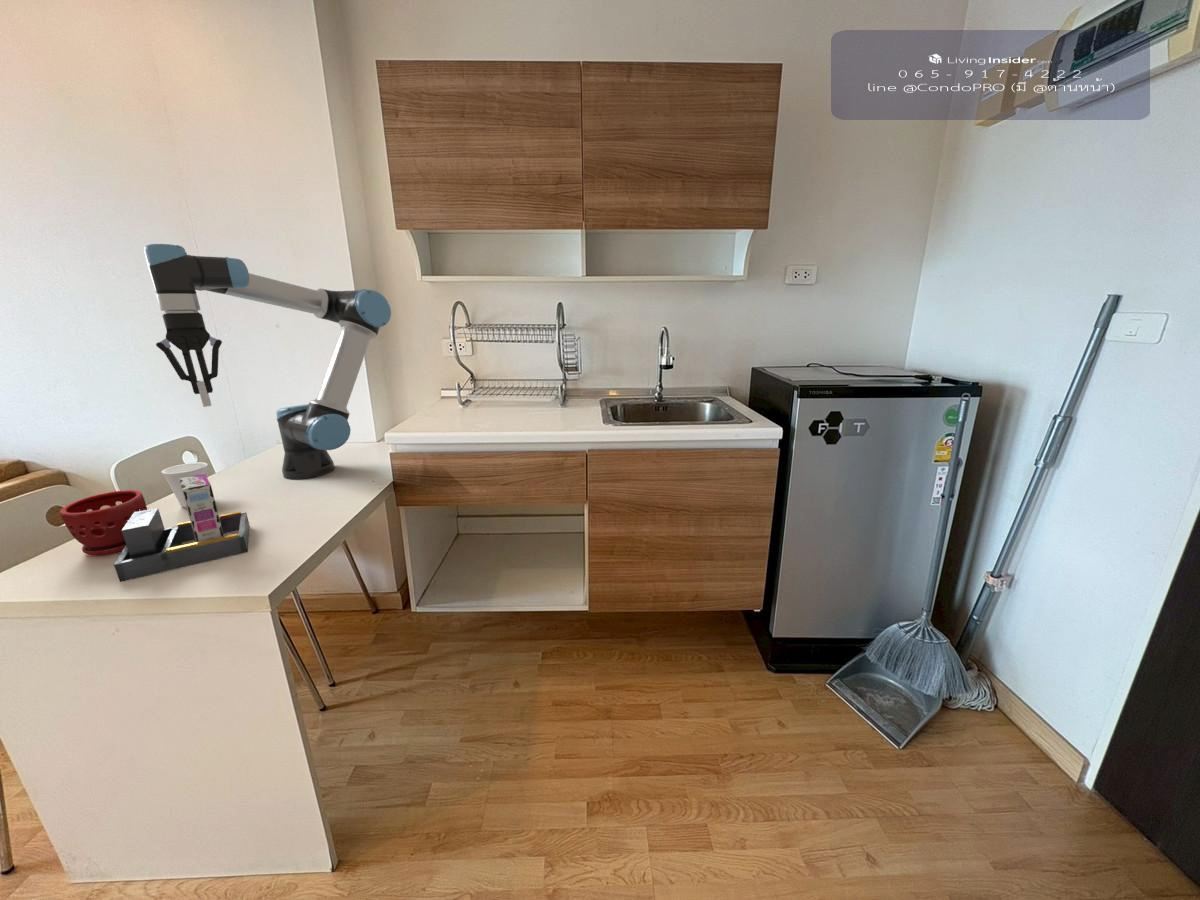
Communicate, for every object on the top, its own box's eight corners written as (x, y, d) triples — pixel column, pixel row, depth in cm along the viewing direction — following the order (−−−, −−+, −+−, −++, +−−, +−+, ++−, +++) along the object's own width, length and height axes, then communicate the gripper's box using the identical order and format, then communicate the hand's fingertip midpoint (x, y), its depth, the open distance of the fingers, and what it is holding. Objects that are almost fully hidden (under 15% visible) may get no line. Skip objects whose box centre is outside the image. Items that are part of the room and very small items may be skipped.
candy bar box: (229, 551, 106) (211, 484, 101) (201, 559, 102) (181, 490, 98) (222, 535, 113) (205, 472, 109) (196, 542, 110) (177, 477, 105)
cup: (191, 512, 127) (180, 474, 124) (162, 509, 129) (151, 472, 126) (226, 498, 136) (216, 463, 133) (198, 496, 138) (189, 461, 135)
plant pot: (91, 542, 111) (75, 496, 107) (163, 530, 117) (150, 485, 113) (65, 567, 100) (45, 516, 96) (146, 552, 106) (130, 504, 102)
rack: (249, 526, 118) (240, 490, 115) (247, 552, 105) (237, 511, 102) (137, 550, 107) (124, 510, 104) (119, 582, 94) (104, 537, 91)
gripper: (216, 311, 121) (238, 400, 128) (148, 312, 114) (176, 406, 121) (214, 311, 115) (237, 404, 122) (143, 312, 108) (172, 411, 115)
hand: (207, 405), depth 122 cm, fingers closed
